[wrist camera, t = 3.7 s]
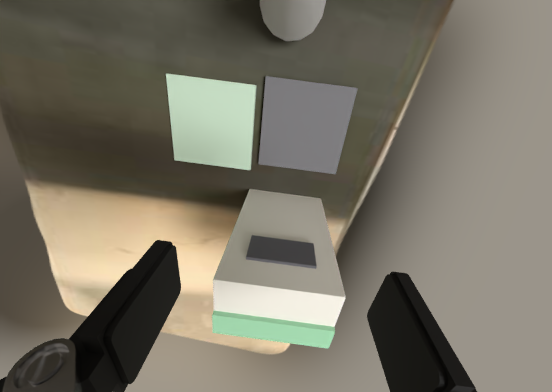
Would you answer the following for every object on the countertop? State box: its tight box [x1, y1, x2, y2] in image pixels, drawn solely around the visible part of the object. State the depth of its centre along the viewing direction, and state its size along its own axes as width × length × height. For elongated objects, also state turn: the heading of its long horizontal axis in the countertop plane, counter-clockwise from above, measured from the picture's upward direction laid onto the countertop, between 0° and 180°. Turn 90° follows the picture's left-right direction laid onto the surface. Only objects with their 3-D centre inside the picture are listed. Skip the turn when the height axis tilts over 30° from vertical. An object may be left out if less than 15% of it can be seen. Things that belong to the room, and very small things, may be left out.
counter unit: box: [212, 189, 346, 348], centre depth 25 cm, size 7×10×16 cm, turn 83°
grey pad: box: [258, 76, 358, 174], centre depth 26 cm, size 10×10×1 cm
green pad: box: [166, 74, 257, 170], centre depth 27 cm, size 10×10×1 cm
